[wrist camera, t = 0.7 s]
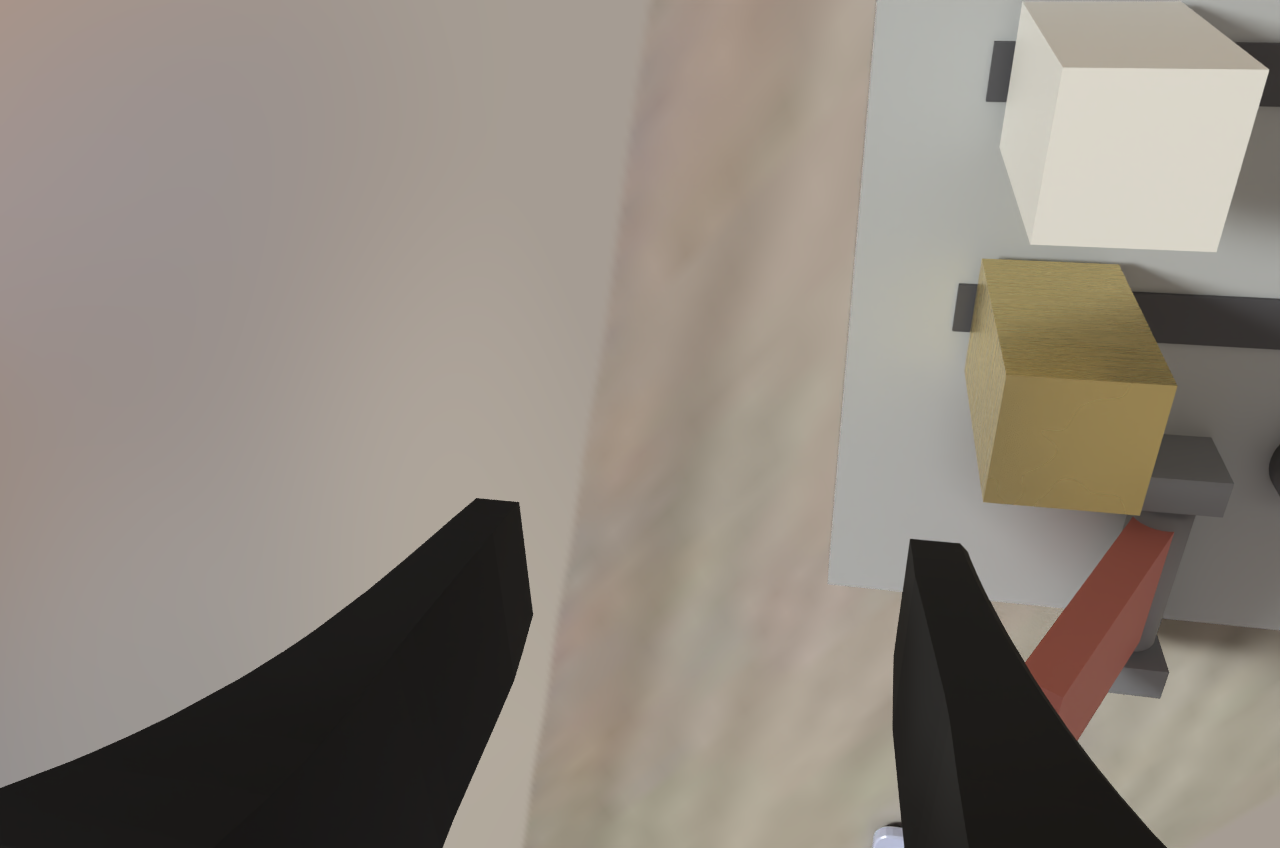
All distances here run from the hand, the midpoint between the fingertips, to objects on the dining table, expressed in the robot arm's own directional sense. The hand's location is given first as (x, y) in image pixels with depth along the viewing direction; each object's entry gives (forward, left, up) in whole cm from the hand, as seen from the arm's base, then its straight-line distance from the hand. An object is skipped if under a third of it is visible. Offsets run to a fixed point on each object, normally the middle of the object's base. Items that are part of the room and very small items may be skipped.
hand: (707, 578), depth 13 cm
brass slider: (0, -5, -8) cm, 10 cm away
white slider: (+5, -5, -8) cm, 11 cm away
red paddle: (-5, -8, -8) cm, 13 cm away
